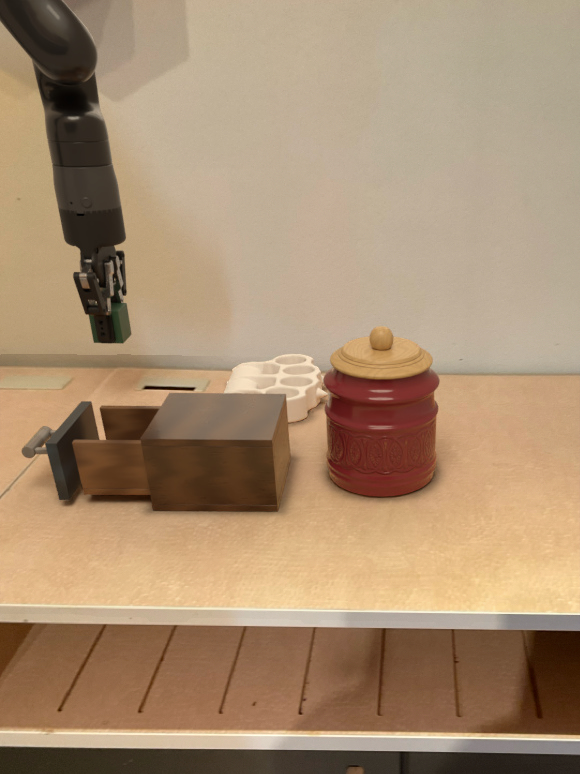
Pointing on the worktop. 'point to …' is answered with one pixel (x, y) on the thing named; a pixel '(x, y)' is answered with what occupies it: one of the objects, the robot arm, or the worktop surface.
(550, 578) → the worktop surface
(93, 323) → the block
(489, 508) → the worktop surface
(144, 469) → the drawer
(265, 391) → the white egg tray
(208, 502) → the cabinet
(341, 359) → the kitchen canister
